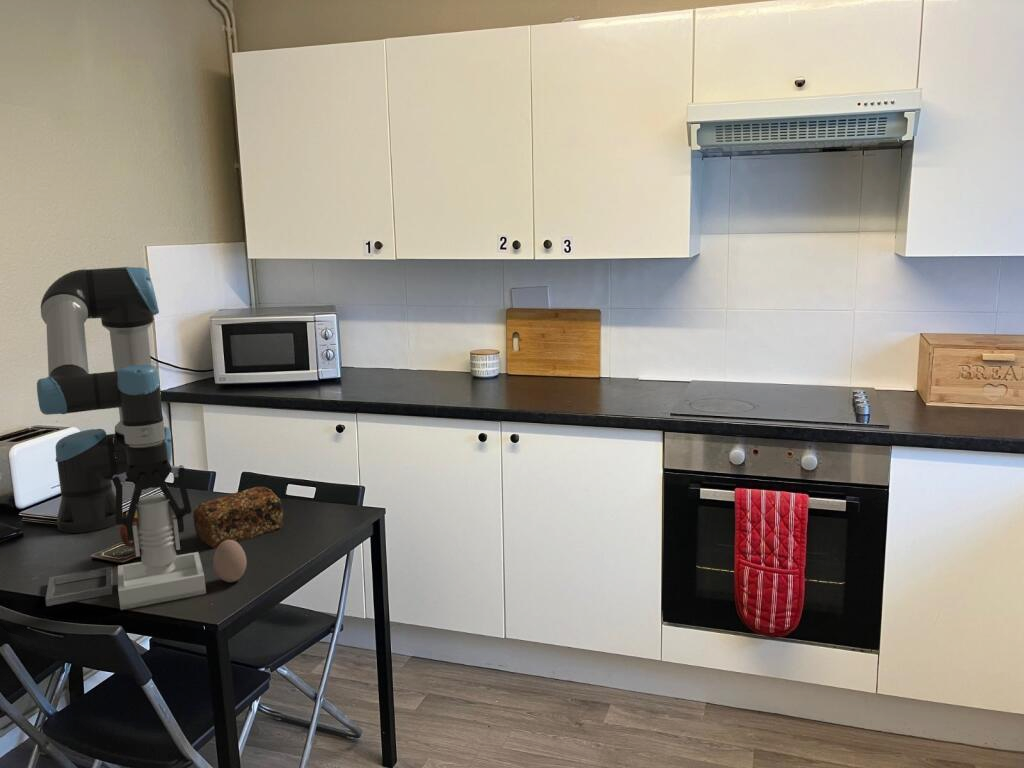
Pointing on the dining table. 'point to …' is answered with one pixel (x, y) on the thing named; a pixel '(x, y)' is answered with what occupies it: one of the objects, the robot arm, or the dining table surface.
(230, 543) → the egg
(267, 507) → the bread
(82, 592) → the grey square frame
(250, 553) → the dining table surface
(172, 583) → the bin
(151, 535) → the grey tall round piece
